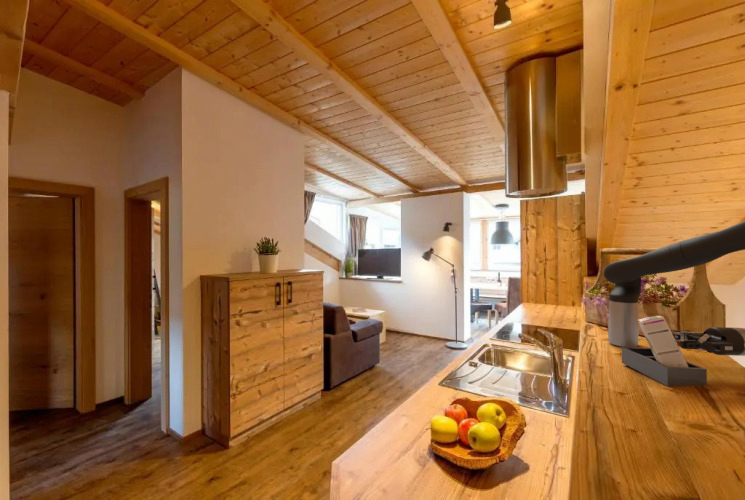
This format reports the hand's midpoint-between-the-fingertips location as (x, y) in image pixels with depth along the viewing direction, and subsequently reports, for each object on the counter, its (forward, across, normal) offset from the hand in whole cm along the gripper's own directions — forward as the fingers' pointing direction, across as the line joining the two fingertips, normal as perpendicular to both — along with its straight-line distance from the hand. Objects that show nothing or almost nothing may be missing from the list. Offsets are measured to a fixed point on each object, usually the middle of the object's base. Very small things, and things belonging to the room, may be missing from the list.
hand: (668, 340), depth 91 cm
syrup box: (-1, 0, +8) cm, 8 cm away
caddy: (-1, -4, +11) cm, 12 cm away
